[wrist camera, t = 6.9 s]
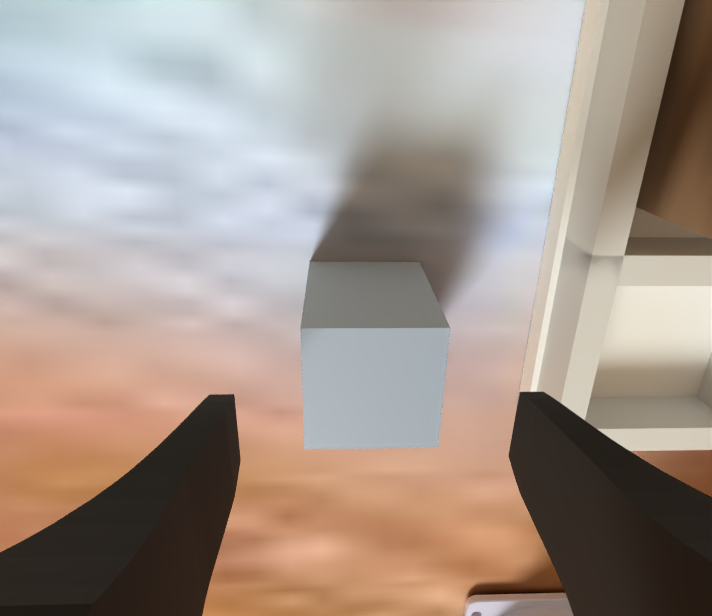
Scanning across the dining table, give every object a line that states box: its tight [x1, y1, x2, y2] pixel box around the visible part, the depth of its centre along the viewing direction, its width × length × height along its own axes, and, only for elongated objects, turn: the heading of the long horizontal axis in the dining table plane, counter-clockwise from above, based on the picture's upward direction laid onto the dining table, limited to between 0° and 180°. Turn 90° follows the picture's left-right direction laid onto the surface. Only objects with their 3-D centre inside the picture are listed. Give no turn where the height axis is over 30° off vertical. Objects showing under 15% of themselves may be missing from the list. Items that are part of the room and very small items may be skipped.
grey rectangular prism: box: [301, 261, 450, 449], centre depth 17 cm, size 4×4×6 cm
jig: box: [517, 0, 712, 451], centre depth 17 cm, size 16×8×3 cm, turn 179°
